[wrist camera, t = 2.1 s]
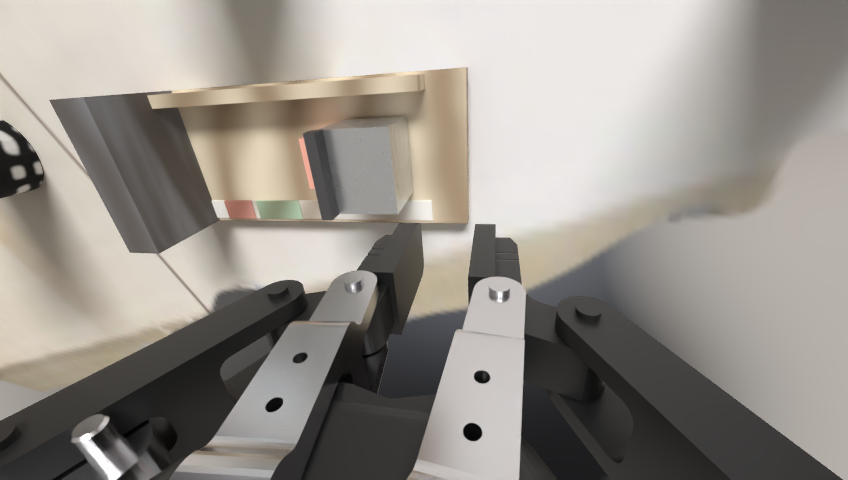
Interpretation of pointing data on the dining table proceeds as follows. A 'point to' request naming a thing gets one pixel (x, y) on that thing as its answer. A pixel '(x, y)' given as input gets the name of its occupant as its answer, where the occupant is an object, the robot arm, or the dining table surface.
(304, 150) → the pink eraser
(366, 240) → the dining table surface
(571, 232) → the dining table surface
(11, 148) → the white-spotted black cylinder
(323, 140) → the carriage
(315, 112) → the beige long open tray
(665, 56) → the dining table surface
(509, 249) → the robot arm
